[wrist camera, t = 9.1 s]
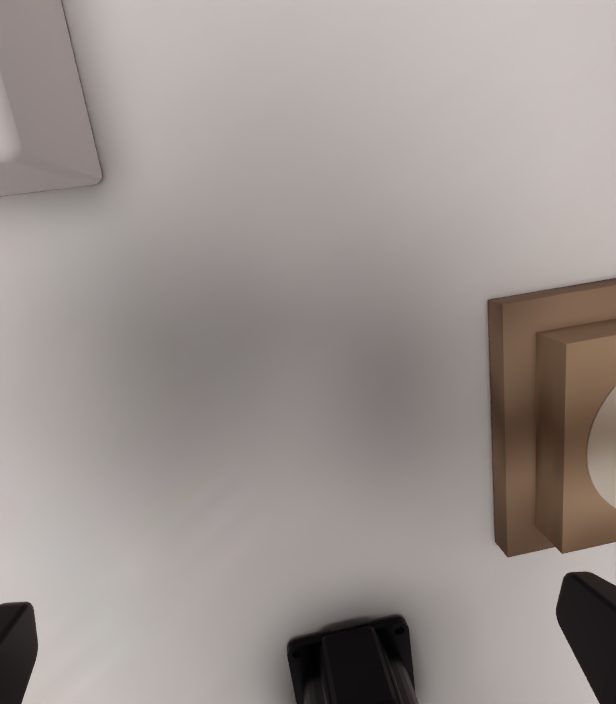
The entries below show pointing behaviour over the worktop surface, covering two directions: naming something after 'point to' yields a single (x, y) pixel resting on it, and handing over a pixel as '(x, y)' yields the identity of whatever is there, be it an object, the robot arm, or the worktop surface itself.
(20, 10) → the medicine bottle
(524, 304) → the walnut plinth
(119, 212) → the worktop surface
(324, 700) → the robot arm
